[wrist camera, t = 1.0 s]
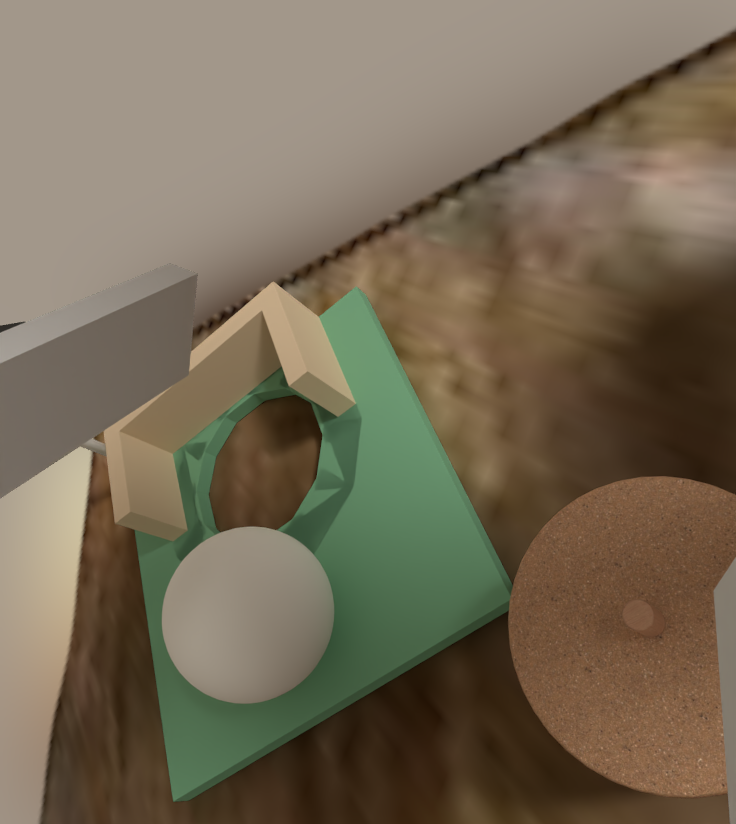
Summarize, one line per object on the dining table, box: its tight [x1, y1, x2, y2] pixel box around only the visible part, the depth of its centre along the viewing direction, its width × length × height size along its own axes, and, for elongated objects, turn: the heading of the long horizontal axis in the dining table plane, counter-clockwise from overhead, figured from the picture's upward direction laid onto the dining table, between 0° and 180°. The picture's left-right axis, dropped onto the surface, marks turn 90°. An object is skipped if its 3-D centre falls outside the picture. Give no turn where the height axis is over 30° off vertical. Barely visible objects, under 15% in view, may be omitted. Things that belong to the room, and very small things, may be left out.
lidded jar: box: [508, 476, 736, 798], centre depth 26 cm, size 11×11×9 cm
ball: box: [162, 527, 334, 704], centre depth 37 cm, size 9×9×9 cm
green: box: [81, 282, 513, 802], centre depth 38 cm, size 24×26×21 cm
